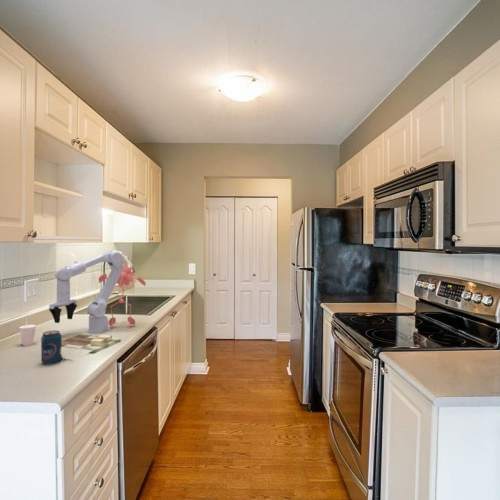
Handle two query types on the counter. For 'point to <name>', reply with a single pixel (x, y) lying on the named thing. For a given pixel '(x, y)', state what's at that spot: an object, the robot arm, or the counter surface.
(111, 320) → the figurine
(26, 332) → the smoothie
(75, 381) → the counter surface
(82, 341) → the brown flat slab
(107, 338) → the block
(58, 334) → the soda can
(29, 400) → the counter surface
